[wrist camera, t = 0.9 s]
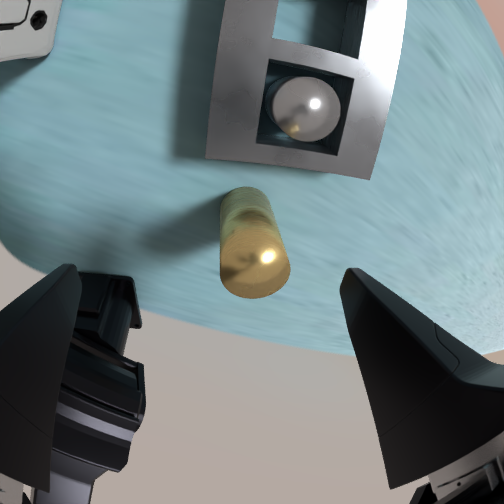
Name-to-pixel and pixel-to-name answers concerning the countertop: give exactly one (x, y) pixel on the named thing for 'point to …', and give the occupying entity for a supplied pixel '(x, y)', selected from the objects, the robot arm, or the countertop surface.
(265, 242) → the gold domed cylinder
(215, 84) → the jig
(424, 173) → the countertop surface
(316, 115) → the silver round knob
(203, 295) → the countertop surface
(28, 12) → the electrical switch
